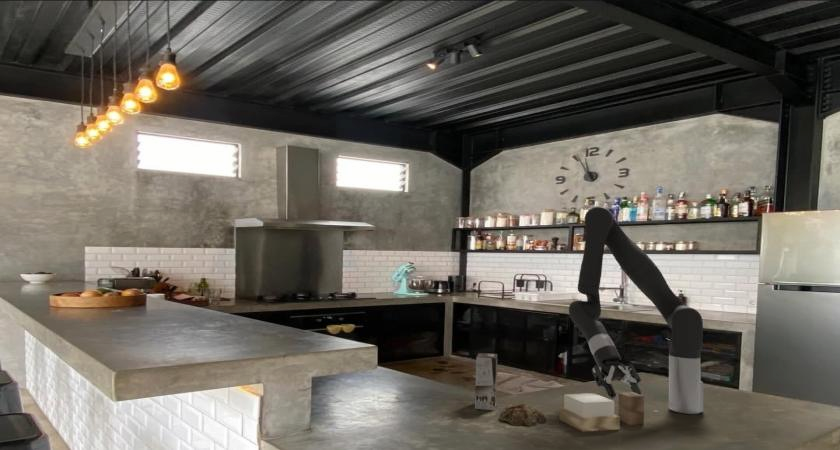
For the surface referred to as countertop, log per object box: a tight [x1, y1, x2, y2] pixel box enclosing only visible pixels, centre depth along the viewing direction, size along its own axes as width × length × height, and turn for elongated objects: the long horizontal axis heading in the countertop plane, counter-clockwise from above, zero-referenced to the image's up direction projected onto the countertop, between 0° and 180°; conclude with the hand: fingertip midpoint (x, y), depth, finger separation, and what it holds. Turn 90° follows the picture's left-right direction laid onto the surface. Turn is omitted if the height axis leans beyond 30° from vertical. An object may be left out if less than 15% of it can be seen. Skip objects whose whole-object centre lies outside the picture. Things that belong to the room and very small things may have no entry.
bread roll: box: [499, 403, 547, 427], centre depth 166 cm, size 13×12×5 cm
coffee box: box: [474, 352, 498, 411], centre depth 181 cm, size 9×6×16 cm
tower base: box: [559, 406, 621, 433], centre depth 164 cm, size 12×12×4 cm
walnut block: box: [618, 391, 645, 426], centre depth 168 cm, size 5×5×8 cm
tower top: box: [563, 392, 615, 418], centre depth 164 cm, size 10×10×4 cm
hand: (626, 396), depth 170 cm, fingers open, 8 cm apart
